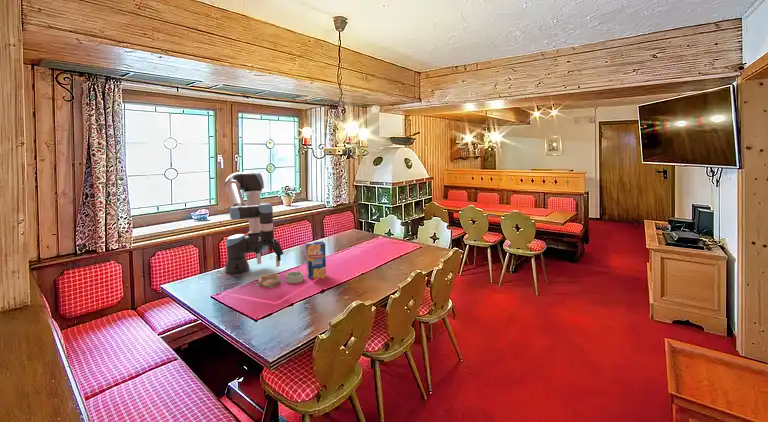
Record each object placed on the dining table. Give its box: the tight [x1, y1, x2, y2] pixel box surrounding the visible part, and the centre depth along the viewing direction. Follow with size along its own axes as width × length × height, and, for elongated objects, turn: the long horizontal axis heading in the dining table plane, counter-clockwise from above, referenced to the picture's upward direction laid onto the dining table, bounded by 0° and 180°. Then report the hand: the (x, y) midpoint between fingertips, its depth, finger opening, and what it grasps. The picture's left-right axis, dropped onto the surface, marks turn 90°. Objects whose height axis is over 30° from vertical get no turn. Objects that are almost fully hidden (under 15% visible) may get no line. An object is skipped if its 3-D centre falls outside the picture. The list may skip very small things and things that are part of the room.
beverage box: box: [305, 240, 327, 280], centre depth 244 cm, size 7×11×22 cm, turn 111°
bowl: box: [285, 270, 304, 284], centre depth 237 cm, size 10×10×5 cm
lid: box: [258, 272, 281, 288], centre depth 232 cm, size 12×12×4 cm
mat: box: [255, 280, 284, 289], centre depth 232 cm, size 12×12×1 cm
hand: (268, 265), depth 230 cm, fingers open, 13 cm apart
